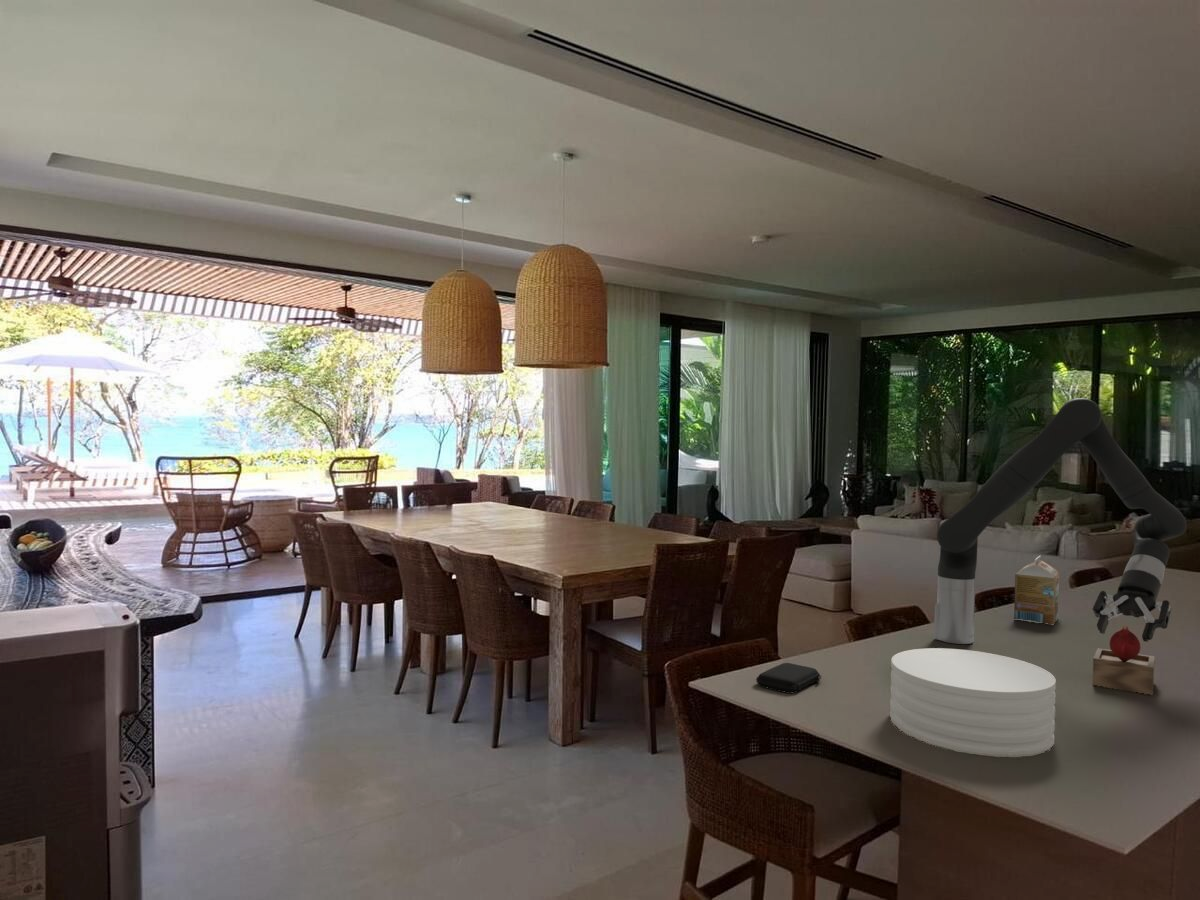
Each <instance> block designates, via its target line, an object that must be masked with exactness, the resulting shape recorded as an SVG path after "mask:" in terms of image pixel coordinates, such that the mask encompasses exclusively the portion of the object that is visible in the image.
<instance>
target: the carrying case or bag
mask: <svg viewBox="0 0 1200 900" xmlns="http://www.w3.org/2000/svg"><path fill="white" fill-rule="evenodd" d="M821 679H822V675H821V674H820V672H818V670H817V669H816V668H814V667H810V666H806V665H805V666H804V665H800V664H795V663H790V662H783V663H781V664H778V665H776V666H774V667H772V668H770V669H767V670H765V671H763V672H762V673H760V674H759V675H758V676H757V677H756V679H755V682H756V683H757V684H758V685H760V687H761V686H764V687H768V688H767V689H769V688H772V689H771V690H773V689H776V690H775V691H777V690H780V691H779V692H781V691H785V692H795V691H797V692H798V690H799V691H800V689H801V690H803V689H804V688H807V687H808V686H810V685H812V684H814V683H815V682H817V683H820V681H821ZM813 682H814V683H813ZM811 683H812V684H811ZM809 684H810V685H809ZM764 687H763V688H764ZM802 688H803V689H802ZM785 692H784V693H785ZM795 693H796V692H795Z"/></svg>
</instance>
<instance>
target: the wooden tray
mask: <svg viewBox="0 0 1200 900" xmlns="http://www.w3.org/2000/svg"><path fill="white" fill-rule="evenodd" d="M1155 658H1156V657H1155V656H1154V655H1146V654H1140V653H1138V655H1137V656H1135V657H1134V658H1132V659H1130V660H1128V661H1126V662H1123V661H1121V660H1120V659H1119V658H1118V657H1117V656H1116V655H1115V654H1114V653H1113V652H1112V651H1111V649H1105V648H1098V647H1097V648H1096V651H1095V654H1094V655H1093V659H1092V662H1093V663H1092V686H1094V685H1097V686H1096V687H1100V686H1103V687H1102V688H1106V687H1107V689H1112V688H1113V690H1118V689H1119V691H1124V690H1125V692H1130V691H1131V692H1132V693H1136V692H1138V693H1137V694H1141V693H1144V694H1143V695H1147V694H1150V695H1149V696H1153V695H1154V687H1153V686H1154V685H1155V664H1156V663H1155Z"/></svg>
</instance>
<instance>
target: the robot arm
mask: <svg viewBox="0 0 1200 900" xmlns="http://www.w3.org/2000/svg"><path fill="white" fill-rule="evenodd" d="M1102 416H1103V415H1102V410H1101V408H1100V407H1099V405H1098V404H1097V403H1096V402H1094V401H1093V400H1091V399H1089V398H1083V397H1076V398H1072V399H1070V400H1068V401H1066V402H1065V403H1064V404H1063V405H1062V406H1061V407H1060V409H1059V410H1058V412H1057V413H1056V414H1055V416H1054V417H1053V418H1052V419H1051V420H1050V422H1049V423H1048V424H1047V425H1046V426H1045V427H1044V428H1043V430H1041V432H1040V433H1039V434H1037V435H1036V436H1035V437H1034V438H1033V439H1032V440H1030V441H1029V442H1027V443H1026V444H1025V445H1024V446H1022V447H1021V448H1020V449H1018V450H1017V451H1016V452H1015V453H1014V454H1012V456H1010V457H1009V458H1008V459H1007V460H1006V461H1005V462H1003V464H1001V465H1000V466H999V467H998V469H997V470H995V471H994V473H992V475H991V476H990V477H989V478H988V479H987V480H986V482H984V483H983V484H982V486H981V487H980V488H979V490H978V491H977V492H976V493H975V495H974V496H972V498H971V499H970V500H969V501H968V502H967V503H966V504H965V505H964V506H963V507H961V508H960V509H959V510H958V511H956V512H955V513H954V514H953V515H951V516H950V517H949V518H948V519H946V520H944V521H943V522H942V523H941V524H940V525H939V527H938V529H937V532H936V538H937V543H938V545H939V546H940V548H939V549H940V550H939V551H940V554H939V562H938V565H937V590H936V591H937V594H936V595H937V597H936V598H937V599H936V600H937V601H936V603H935V604H934V626H933V627H934V634H933V635H934V636H933V639H934V640H938V641H941V642H944V643H949V644H954V645H955V644H957V645H968V644H969V645H970V644H973V643H974V640H975V639H974V637H975V634H974V633H975V599H976V598H975V596H976V593H975V592H976V591H975V590H976V572H977V571H976V570H977V563H978V562H977V561H978V543H979V541H978V537H979V536H980V535H981V534H982V532H983V531H985V529H986V528H987V527H988V526H989V525H990V524H991V523H992V522H993V521H994V520H996V518H998V517H999V516H1001V515H1002V514H1003V513H1005V512H1006V511H1007V510H1009V509H1010V508H1012V507H1013V506H1015V505H1016V504H1017V503H1018V502H1019V501H1020V500H1022V499H1023V498H1025V496H1027V495H1028V494H1029V493H1030V492H1031V491H1032V490H1033V489H1034V488H1035V487H1036V486H1037V485H1039V483H1040V482H1041V481H1042V480H1043V478H1045V476H1046V475H1047V474H1048V473H1049V472H1050V471H1051V469H1052V468H1053V467H1054V466H1055V465H1056V463H1057V462H1058V461H1059V459H1060V458H1061V457H1062V456H1063V455H1064V454H1065V453H1066V452H1068V450H1070V449H1071V448H1072V447H1073V446H1074V445H1076V444H1077V443H1080V444H1081V445H1082V446H1083V447H1084V448H1085V449H1086V450H1087V452H1088V453H1089V454H1090V456H1091V457H1092V458H1093V460H1094V461H1095V462H1096V464H1097V466H1098V468H1099V469H1100V470H1101V472H1102V473H1103V475H1104V477H1105V479H1106V480H1107V482H1108V483H1109V485H1110V486H1111V488H1112V489H1113V490H1114V492H1115V493H1116V494H1117V496H1118V497H1119V499H1120V500H1121V501H1122V503H1123V504H1124V505H1125V506H1126V507H1127V508H1128V509H1130V510H1136V509H1143V510H1145V511H1146V512H1147V513H1149V514H1145V515H1143V516H1141V517H1139V519H1138V520H1137V521H1136V523H1135V524H1134V527H1133V544H1134V548H1133V550H1132V552H1131V555H1130V558H1129V560H1128V562H1127V564H1126V566H1125V568H1124V571H1123V575H1122V577H1121V579H1120V583H1119V585H1118V588H1117V591H1116V593H1114V594H1109V593H1107V592H1106V591H1105V590H1100V592H1099V594H1098V596H1097V597H1096V601H1095V602H1094V604H1093V606H1092V611H1093V615H1094V616H1095V618H1098V620H1097V623H1096V628H1097V630H1098V631H1099V633H1100V634H1103V635H1104V634H1105V633H1106V631H1107V627H1108V625H1109V623H1110V620H1111V619H1113V618H1118V617H1120V616H1121V615H1123V616H1127V617H1128V616H1129V617H1130V616H1132V617H1134V618H1141V617H1143V618H1144V620H1145V625H1144V628H1143V631H1142V635H1141V637H1142V640H1143V642H1147V643H1148V642H1149V641H1151V640H1153V637H1154V634H1155V632H1156V629H1158V628H1162V629H1167V628H1168V625H1169V621H1170V617H1171V612H1172V607H1171V604H1170V602H1169V600H1167V599H1165V600H1163V601H1157V598H1158V596H1159V593H1160V589H1161V586H1162V584H1163V582H1164V577H1165V571H1166V568H1167V565H1168V562H1169V558H1170V554H1171V553H1170V552H1171V551H1170V548H1169V546H1168V545H1167V543H1165V541H1168V540H1171V539H1173V538H1177V537H1179V536H1182V535H1183V534H1185V532H1186V531H1187V528H1188V526H1187V525H1188V524H1187V520H1186V518H1185V516H1184V515H1183V513H1182V512H1181V511H1180V510H1179V509H1178V508H1177V507H1176V506H1175V505H1174V504H1172V503H1171V502H1170V501H1168V500H1167V499H1166V498H1165V497H1163V496H1162V495H1161V494H1160V493H1158V492H1157V491H1156V490H1155V489H1154V488H1153V487H1152V485H1151V483H1150V482H1149V481H1148V480H1147V478H1146V476H1145V475H1144V474H1143V473H1142V472H1141V471H1140V469H1139V468H1138V466H1137V465H1136V464H1135V463H1134V462H1133V461H1132V460H1131V458H1129V456H1128V455H1127V454H1126V452H1124V451H1123V449H1122V448H1121V447H1120V446H1119V445H1118V443H1117V441H1116V440H1115V439H1114V437H1113V436H1112V434H1111V433H1110V431H1109V429H1108V427H1107V425H1106V423H1105V421H1104V420H1103V419H1104V418H1103V417H1102ZM1112 601H1113V602H1112ZM1110 602H1111V603H1110ZM1109 603H1110V604H1109ZM1107 605H1108V606H1107ZM1156 608H1158V611H1159V616H1158V618H1154V617H1153V615H1152V613H1151V612H1152V611H1153V610H1154V611H1155V610H1156Z"/></svg>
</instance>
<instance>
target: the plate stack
mask: <svg viewBox="0 0 1200 900" xmlns="http://www.w3.org/2000/svg"><path fill="white" fill-rule="evenodd" d="M890 663H891V664H890V666H891V667H890V668H891V671H890V681H891V683H890V695H891V696H890V702H889V703H890V709H889V710H890V711H889V716H890V717H891V720H892V721H893V722H894V724H895V725H897V726H898V727H899V728H901V729H902V730H904V731H905V732H907V733H909V734H912V735H913V736H915V737H918V738H921V739H923V740H925V741H928V742H931V743H934V744H937V745H940V746H944V747H948V748H954V749H959V750H964V751H971V752H978V753H986V754H987V753H988V754H1004V755H1005V754H1008V755H1013V754H1015V755H1018V754H1020V755H1022V754H1031V753H1032V754H1033V753H1038V752H1041V751H1044V750H1047V749H1049V748H1050V747H1052V746H1053V744H1054V745H1055V734H1054V733H1055V730H1056V729H1055V728H1056V721H1055V717H1056V706H1055V704H1056V697H1057V696H1056V692H1055V690H1056V689H1057V688H1056V687H1057V680H1056V677H1055V676H1054V675H1053V674H1052V673H1051V672H1049V671H1048V670H1046V669H1044V668H1043V667H1040V666H1038V665H1036V664H1033V663H1030V662H1027V661H1024V660H1021V659H1017V658H1014V657H1010V656H1004V655H1001V654H996V653H990V652H985V651H978V650H969V649H959V648H958V649H957V648H947V647H945V648H943V647H937V648H935V647H932V648H931V647H929V648H927V647H925V648H915V649H908V650H904V651H900V652H898V653H896V654H893V656H892V657H891V661H890ZM890 717H889V718H890ZM891 720H890V721H891ZM1053 747H1054V746H1053Z"/></svg>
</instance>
